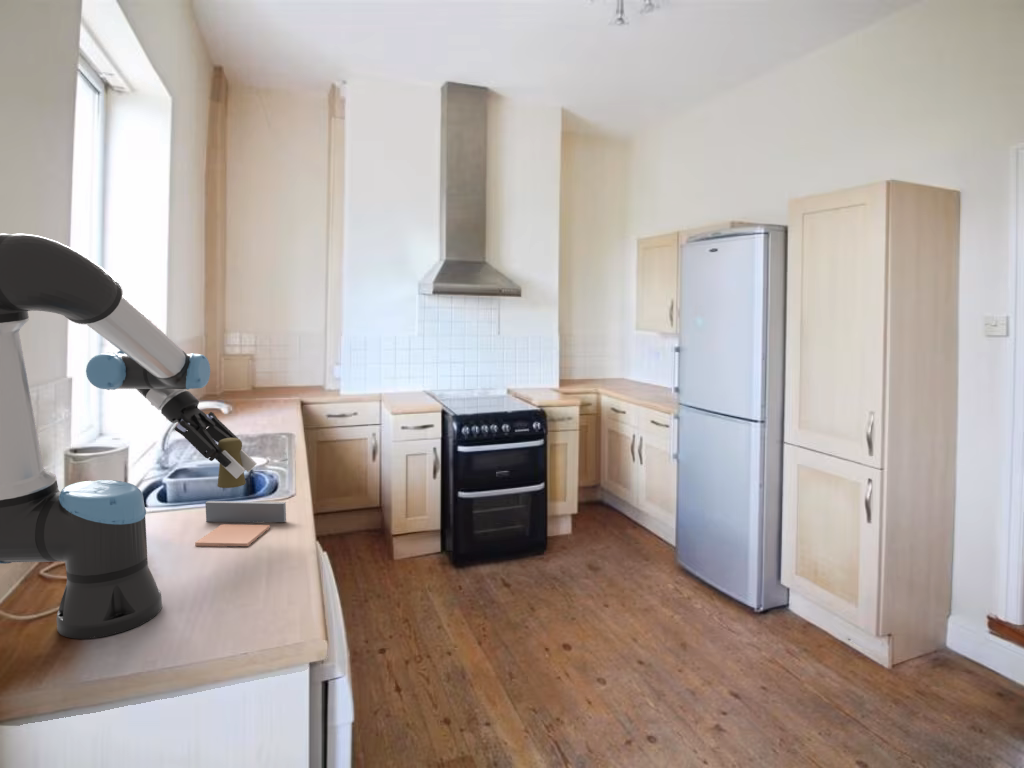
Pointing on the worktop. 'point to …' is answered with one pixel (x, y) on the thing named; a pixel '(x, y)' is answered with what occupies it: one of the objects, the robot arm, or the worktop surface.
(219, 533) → the terracotta tile
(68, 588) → the robot arm
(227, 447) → the cork
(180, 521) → the worktop surface
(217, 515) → the low wall
